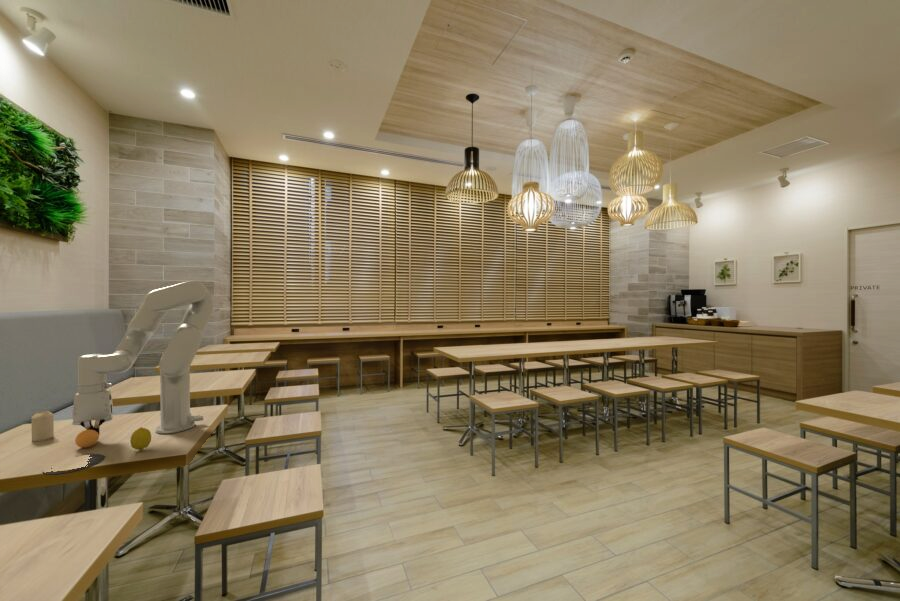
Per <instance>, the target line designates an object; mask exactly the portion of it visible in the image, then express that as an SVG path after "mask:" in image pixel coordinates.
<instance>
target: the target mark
mask: <svg viewBox="0 0 900 601" xmlns="http://www.w3.org/2000/svg"><path fill="white" fill-rule="evenodd" d="M89 454H90V456H89V457H92V458H90V459H88V460H89V461H87V462H88V464H87V465H88V466H87V465H86V466H87V467H86V466H85V467H81V468H77V469H72V470H68V471H57V472H53V471H51V472H46V473H45V474H44V475H48V476H49V475H51V476H52V475H53V476H54V475H64V474H69V473H74V472H77V471H81V470H82V471H83V470H85V469H88V468H91V467H94V466H95V465H98V464H99V463H102V462H103V461H104V460H105V459H106V455H104V454H101V453H89ZM89 454H88V455H89ZM101 461H102V462H101ZM89 462H90V463H89ZM51 469H52V468H51Z"/></svg>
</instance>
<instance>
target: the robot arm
mask: <svg viewBox="0 0 900 601" xmlns="http://www.w3.org/2000/svg"><path fill="white" fill-rule="evenodd" d="M187 305H188V306H187ZM184 306H187V308H186V311H185V313H184V316H183V318H182V320H181V322H180V324H179V325H178V326H177V328H176V329H175V331H173V332H174V333H173V335H172V337H171V339H170V341H169V343H168V345H167V347H166V349H165V350H164V353H163V355H162V356H161V357H160V359H159V363H158V369H159V372H160V391H159V392H160V425H158V426H157V427H156V428H155V432H156V433H158V434H174V433H175V434H176V433H179V432H184V431H187V430H189V429H191V428H193V427H195V424H196V422H201V421H204V415H200V414H199V415H192V413H191V385H190V384H191V379H190V378H191V377H190V376H191V373H190V372H191V370H190V369H191V364H192V363H193V361H194V358H195V357H196V355H197V352H198V350H199V349H200V346H201V344H202V341H203V334H204V331H205V329H206V327H207V324H208V323H209V320H210V318H211V316H212V313H213V311H214V310H213V308H214V300H213V297H212V295H211V293H210V291H209V290H208V289H207V287H206V285H205V284H204V283H203V282H201V281H199V280H193V279H192V280H187V281H184V282H180V283H177V284H173V285H170V286H166V287H165V286H164V287H162V288H157V289H153V290H151V291H149V292H148V293H147V294H146V295H145V297H144V300H143V302H142V304H140V307H139V308H138V309H137V311H136V313H135V315H134V316H133V317H132V318H131V320H130V321H129V323H128V326H127V327H126V332H125V334H124V336H123V338H121V341H120V343H119V344H118V345H117V347H116V348H115V350H114V352H113V353H111V354H104V353H91V354H89V353H88V354H84V355H80V356H79V357H78V359H77V392H76V393H75V395H74V396H75V397H74V399H73V400H74V401H73V406H72V425H73V426H80V427H83V428H84V429H85V430H95V431H96V432H98V434H99V435H100V427H101V425H102V424H104V423H107V422H109V421H112V420H113V418H114V417H113V412H114V406H113V404H114V403H113V398H112V392H111V389H109V388H112V387H113V384H112V383H108V381H107V378H108V377H107V374H122V373H123V374H124V373H125V372H127V371H129V370H131V368H132V366H133V365H134V364H135V362H136V361H137V359H138V357H139V356H140V354H141V352H142V351H143V349H144V348H145V346H146V345H147V343H148V342H149V340H150V339H151V338H152V337H153V336H154V334H155V333H156V331H157V330H158V328H159V327H160V325H161V324H162V322H163V320H164V318H166V315H167V314H168V313H169V311H170V310H174V309H177V308H180V307H184ZM92 421H94V425H93V422H92Z"/></svg>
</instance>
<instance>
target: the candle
mask: <svg viewBox="0 0 900 601" xmlns="http://www.w3.org/2000/svg"><path fill="white" fill-rule="evenodd" d="M30 420H31V441H32V442H40V441H41V442H42V441H46V439H47V440H50V439H52V438H54V435H55V432H54V431H55V429H54V422H55V421H54V413H52V412H51V411H47V410H44V411H41V412H38V411H37V412H36V413H35V414H34V415H33V416H31V419H30ZM51 437H52V438H51ZM49 438H50V439H49Z"/></svg>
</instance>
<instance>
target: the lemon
mask: <svg viewBox="0 0 900 601" xmlns="http://www.w3.org/2000/svg"><path fill="white" fill-rule="evenodd" d="M130 436H131V437H130V440H129V441H130V445H131V447H132V448H133V449H134V450H138V451H140V452H141V451H143V450H144V449H146V448H147V447H148V446H149V445H150V444H151V442H152V433H151V431H150V429H147V428H146V427H142V426H141V427H139V428H137V429H136V430H134V432H132V434H131V435H130Z"/></svg>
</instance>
